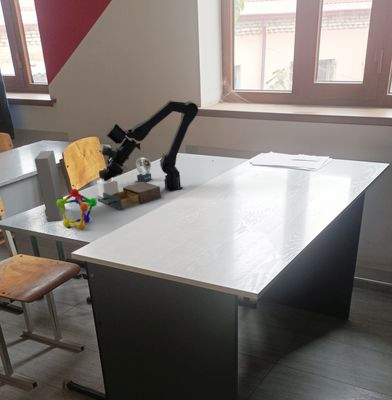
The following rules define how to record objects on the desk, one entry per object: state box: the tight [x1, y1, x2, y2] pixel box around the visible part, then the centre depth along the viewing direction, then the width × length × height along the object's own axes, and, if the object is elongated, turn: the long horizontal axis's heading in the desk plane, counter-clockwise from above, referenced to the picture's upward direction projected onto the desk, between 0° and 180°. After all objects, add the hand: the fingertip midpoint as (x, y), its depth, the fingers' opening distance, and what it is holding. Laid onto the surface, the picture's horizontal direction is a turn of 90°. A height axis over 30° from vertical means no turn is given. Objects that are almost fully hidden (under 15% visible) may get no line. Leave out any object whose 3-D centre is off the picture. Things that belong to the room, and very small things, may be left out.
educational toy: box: [57, 188, 98, 231], centre depth 200 cm, size 16×13×15 cm
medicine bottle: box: [96, 168, 120, 199], centre depth 231 cm, size 7×7×12 cm
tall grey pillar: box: [34, 150, 67, 222], centre depth 208 cm, size 14×6×25 cm, turn 4°
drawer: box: [97, 190, 140, 210], centre depth 221 cm, size 16×13×5 cm
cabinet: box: [122, 182, 162, 205], centre depth 228 cm, size 11×13×5 cm
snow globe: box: [135, 156, 152, 183], centre depth 250 cm, size 6×8×11 cm
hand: (104, 178), depth 230 cm, fingers closed on medicine bottle, 6 cm apart
